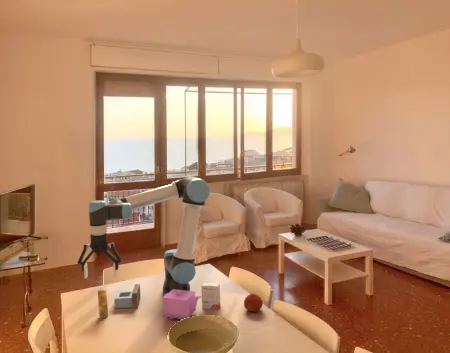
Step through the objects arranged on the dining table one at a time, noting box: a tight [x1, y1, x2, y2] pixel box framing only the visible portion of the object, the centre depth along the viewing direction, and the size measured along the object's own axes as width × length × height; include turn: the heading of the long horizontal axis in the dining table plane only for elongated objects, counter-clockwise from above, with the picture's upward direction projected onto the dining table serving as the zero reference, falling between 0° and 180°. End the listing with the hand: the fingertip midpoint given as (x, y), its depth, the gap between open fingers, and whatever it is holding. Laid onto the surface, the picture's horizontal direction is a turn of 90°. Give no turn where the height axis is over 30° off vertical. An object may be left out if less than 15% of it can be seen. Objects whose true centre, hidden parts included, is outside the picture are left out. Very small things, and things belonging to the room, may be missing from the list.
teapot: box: [162, 289, 202, 321], centre depth 175 cm, size 20×10×12 cm, turn 71°
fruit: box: [243, 293, 264, 313], centre depth 180 cm, size 9×9×8 cm
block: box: [113, 290, 133, 309], centre depth 190 cm, size 9×9×5 cm
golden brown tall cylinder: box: [97, 288, 109, 319], centre depth 177 cm, size 4×4×13 cm
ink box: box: [200, 281, 221, 310], centre depth 184 cm, size 9×5×12 cm, turn 79°
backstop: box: [132, 283, 141, 310], centre depth 191 cm, size 2×12×8 cm, turn 6°
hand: (100, 277), depth 177 cm, fingers open, 13 cm apart
